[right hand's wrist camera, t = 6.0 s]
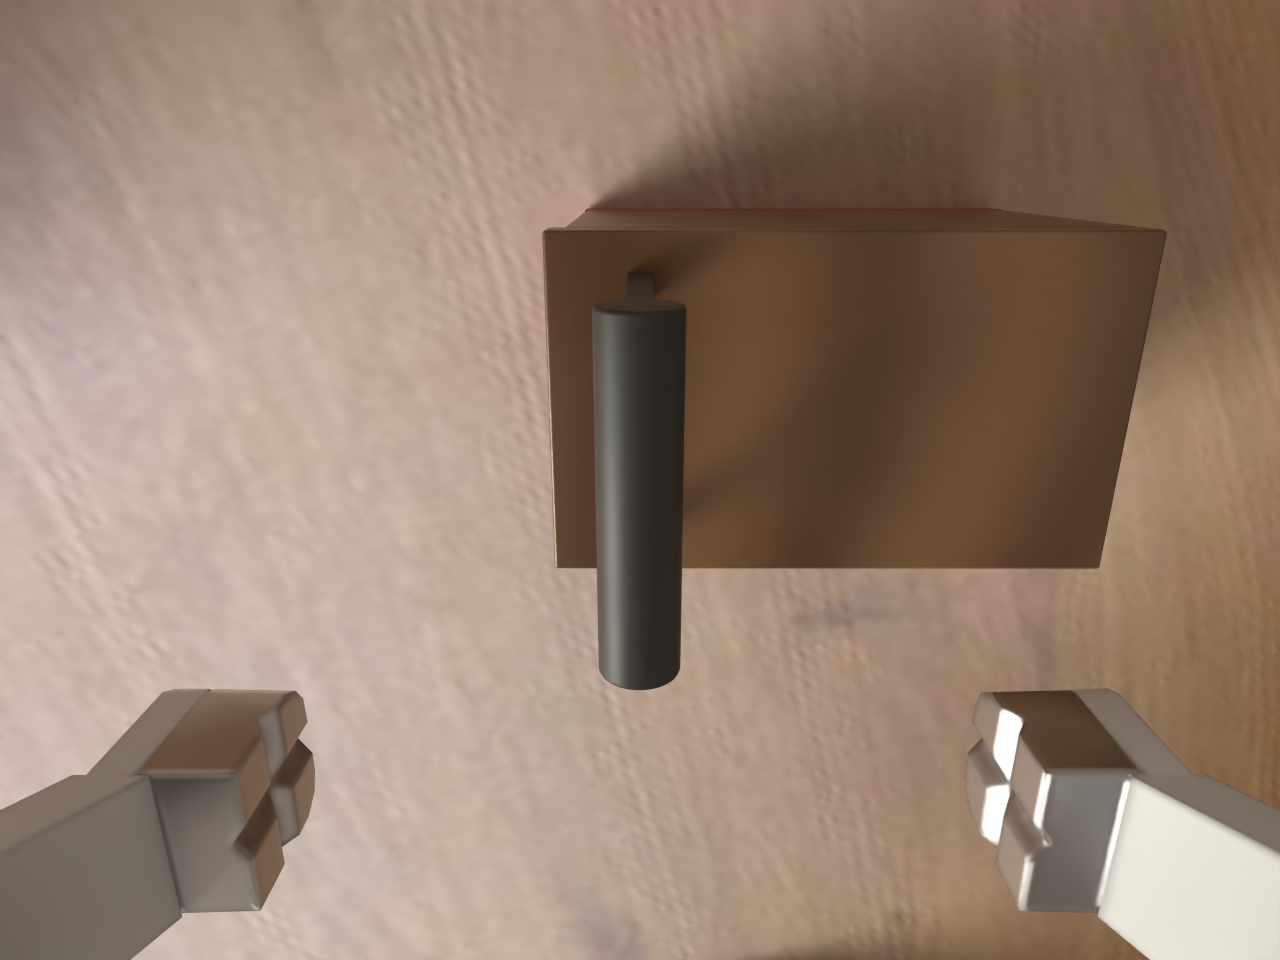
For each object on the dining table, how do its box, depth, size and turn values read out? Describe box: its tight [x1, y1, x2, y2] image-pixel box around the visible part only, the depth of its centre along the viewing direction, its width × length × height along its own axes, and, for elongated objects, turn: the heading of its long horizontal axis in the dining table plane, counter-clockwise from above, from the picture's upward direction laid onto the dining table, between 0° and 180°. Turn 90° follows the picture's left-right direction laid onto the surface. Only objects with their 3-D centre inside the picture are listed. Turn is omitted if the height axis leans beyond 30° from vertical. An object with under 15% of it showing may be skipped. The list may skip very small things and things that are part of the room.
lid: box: [542, 227, 1166, 690], centre depth 21 cm, size 16×10×9 cm, turn 90°
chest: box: [565, 209, 1135, 228], centre depth 30 cm, size 16×10×11 cm, turn 90°
